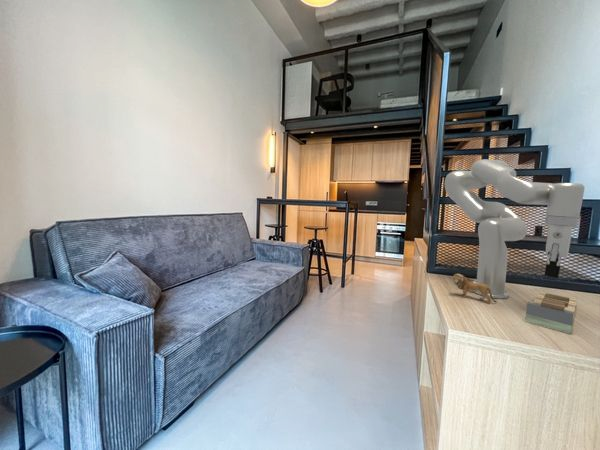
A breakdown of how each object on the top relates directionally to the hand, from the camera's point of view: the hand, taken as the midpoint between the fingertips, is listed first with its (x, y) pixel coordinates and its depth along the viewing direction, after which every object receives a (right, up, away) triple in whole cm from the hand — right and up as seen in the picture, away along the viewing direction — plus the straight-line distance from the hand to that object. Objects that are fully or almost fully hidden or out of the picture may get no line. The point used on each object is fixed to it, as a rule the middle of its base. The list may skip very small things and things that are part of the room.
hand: (551, 276), depth 85 cm
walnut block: (-5, -11, -6) cm, 14 cm away
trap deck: (+3, -13, +3) cm, 14 cm away
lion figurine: (-16, -12, +15) cm, 25 cm away
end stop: (-8, -11, -7) cm, 16 cm away
